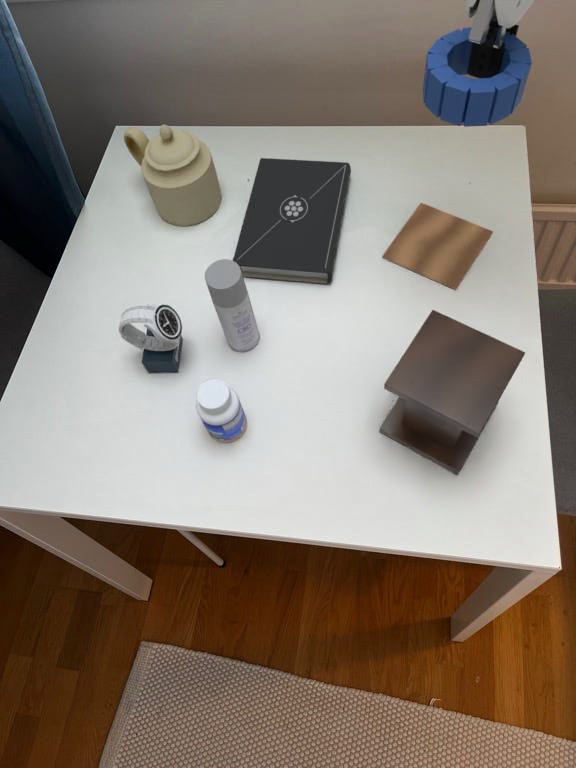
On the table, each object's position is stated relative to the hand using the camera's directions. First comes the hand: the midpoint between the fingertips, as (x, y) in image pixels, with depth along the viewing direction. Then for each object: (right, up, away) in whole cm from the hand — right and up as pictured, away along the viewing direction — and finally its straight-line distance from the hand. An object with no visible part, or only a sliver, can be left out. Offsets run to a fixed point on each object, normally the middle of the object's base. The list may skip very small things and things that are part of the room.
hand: (488, 66), depth 62 cm
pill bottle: (-29, -40, +15) cm, 52 cm away
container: (-28, -28, +21) cm, 44 cm away
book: (-20, -9, +29) cm, 37 cm away
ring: (-2, -3, -1) cm, 4 cm away
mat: (+1, -13, +25) cm, 28 cm away
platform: (-2, -38, +12) cm, 40 cm away
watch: (-39, -30, +21) cm, 53 cm away
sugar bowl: (-40, -4, +34) cm, 52 cm away
